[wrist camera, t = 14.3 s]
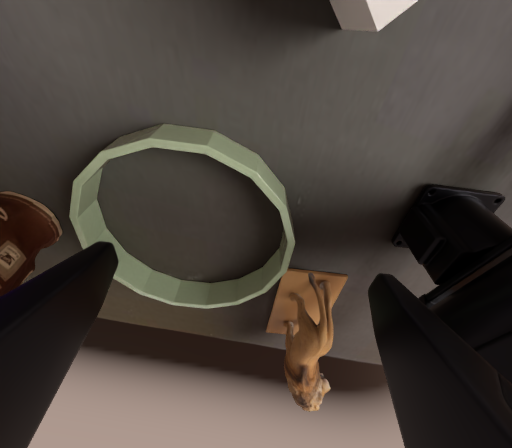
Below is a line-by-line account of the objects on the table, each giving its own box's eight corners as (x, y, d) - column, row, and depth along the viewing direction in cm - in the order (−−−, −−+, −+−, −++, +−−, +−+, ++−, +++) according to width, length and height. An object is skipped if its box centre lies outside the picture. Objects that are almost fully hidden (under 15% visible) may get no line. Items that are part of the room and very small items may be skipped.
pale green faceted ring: (313, 143, 18) (320, 160, 16) (273, 292, 30) (273, 315, 27) (59, 109, 18) (27, 121, 15) (117, 276, 29) (103, 298, 27)
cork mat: (347, 274, 27) (348, 277, 27) (315, 334, 35) (315, 337, 35) (283, 267, 27) (284, 270, 27) (266, 329, 35) (265, 332, 35)
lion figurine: (320, 338, 35) (333, 417, 28) (282, 338, 36) (285, 415, 28) (333, 267, 26) (357, 357, 19) (282, 268, 26) (287, 356, 19)
